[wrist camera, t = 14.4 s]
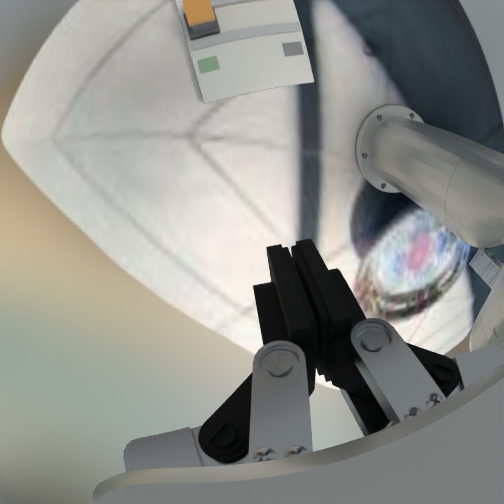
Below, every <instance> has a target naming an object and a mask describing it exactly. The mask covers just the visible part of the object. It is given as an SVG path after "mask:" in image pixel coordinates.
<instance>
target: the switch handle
mask: <svg viewBox="0 0 504 504" xmlns="http://www.w3.org/2000/svg"><path fill="white" fill-rule="evenodd" d="M182 3H183V7H184V10H185V14H183V15H184V19H185V23H186V26H187V30H188V33H189V37H190V39H191V41H192V40H196V39H200V38H203V37H207V36H211V35H215V34H219V33H220V28H219V24H218V21H217V17H216V14H215V10H214V7H212V5H211V1H210V0H183V1H182Z"/></svg>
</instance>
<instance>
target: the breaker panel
mask: <svg viewBox="0 0 504 504" xmlns="http://www.w3.org/2000/svg"><path fill="white" fill-rule="evenodd" d="M175 1H176V4H177V8H178V12H179V15H180V19H181V22H182V26H183V30H184V33H185V37H186V40H187V44H188V47H189V51H190V55H191V58H192V62H193V65H194V69H195V72H196V76H197V79H198V83H199V86H200V90H201V93H202V97H203V101H204V104H207V103H210V102H214V101H218V100H221V99H225V98H229V97H233V96H238V95H242V94H246V93H251V92H256V91H261V90H266V89H271V88H277V87H283V86H289V85H296V84H303V83H311V82H314V79H313V74H312V70H311V65H310V61H309V57H308V53H307V49H306V45H305V41H304V37H303V33H302V29H301V26H300V22H299V19H298V15H297V12H296V9H295V5H294V2H293V0H210V1H211V5H212V7H214V10H215V14H216V17H217V21H218V24H219V28H220V33H219V34H215V35H211V36H207V37H203V38H200V39H196V40H192V41H191V39H190V37H189V33H188V30H187V26H186V23H185V19H184V15H183V14H185V10H184V7H183V3H182V1H183V0H175Z"/></svg>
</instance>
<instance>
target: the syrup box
mask: <svg viewBox="0 0 504 504" xmlns="http://www.w3.org/2000/svg"><path fill="white" fill-rule="evenodd" d="M469 265H470V266H471V267H472V268H473V269H474V270H475V271H476V272H477V273H478V274H479V276H480V277H481V278H482V279H483V280H484V281H485V282H486V283H487V285H488V286H489V287H490V288H491V289H493V287H494V285H495V283H496V281H497V279H498V277H499V275H500V272H501V270H502V266H503V264H502V263H501V262H500V261H499V260H498V259H497V258H495V257H494V256H493V255H492V254H491V253H490V252H489V251H488V250H487V249H486V248H478V250H477V252H476V253H475V255H474V256H473V258H472V260H471V261H470V263H469Z"/></svg>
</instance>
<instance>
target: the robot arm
mask: <svg viewBox="0 0 504 504" xmlns="http://www.w3.org/2000/svg"><path fill="white" fill-rule="evenodd" d="M362 154H363V155H362ZM356 157H357V162H358V166H359V168H360V170H361V173H362V174H363V176H364V177H365V179H366V180H367V181H368V182H369V183H370V184H371V185H373V186H374V187H375V188H377V189H379V190H381V191H384V192H388V193H397V192H402V193H403V194H404V195H406V196H407V197H409V198H410V199H411V200H413V201H414V202H415V203H417V204H418V205H419V206H421V207H422V208H423V209H424V210H426V211H427V212H428V213H429V214H431V215H432V216H433V217H435V218H436V219H437V220H438V221H439V222H441V223H442V224H443V225H444V226H445V227H447V228H448V229H449V230H450V231H451V232H452V233H454V234H455V235H456V236H457V237H458V238H460V239H461V240H462V241H464V242H465V243H467V244H468V245H471V246H474V247H477V248H489V247H494V246H498V245H502V244H504V155H503V154H501V153H499V152H497V151H495V150H493V149H490V148H488V147H486V146H484V145H481V144H479V143H477V142H474V141H472V140H470V139H467V138H465V137H462V136H460V135H457V134H454V133H452V132H449V131H446V130H443V129H440V128H437V127H434V126H431V125H428V124H425V123H424V122H423V120H422V119H421V118H420V116H419V115H418V114H417V113H416V112H414V111H413V110H411V109H409V108H407V107H404V106H401V105H386V106H382V107H380V108H378V109H376V110H375V111H373V112H372V113H371V114H370V115H369V116H368V117H367V118H366V120H365V121H364V122H363V124H362V126H361V128H360V130H359V134H358V137H357V144H356ZM266 249H267V256H268V263H269V270H270V276H271V282H269V283H264V284H259V285H253V289H254V294H255V300H256V306H257V312H258V317H259V323H260V329H261V334H262V340H263V347H262V348H260V349H259V350H258V352H257V353H256V355H255V356H254V361H253V372H252V373H251V374H250V375H249V376H248V378H247V379H246V380H245V381H244V382H243V383H242V384H241V385H240V386H239V387H238V388H237V390H236V391H235V392H234V393H233V394H232V395H231V396H230V397H229V398H228V399H227V400H226V401H225V402H224V403H223V404H222V405H221V406H220V407H219V408H218V409H217V410H216V411H215V412H214V414H213V415H212V416H211V417H210V418H209V419H208V420H207V421H206V422H205V423H204V424H203V425H202V426H199V427H195V428H190V427H187V428H183V429H179V430H175V431H171V432H167V433H162V434H158V435H153V436H148V437H142V438H138V439H135V440H132V441H131V442H130V443H128V444H127V445H126V447H125V450H124V463H125V468H126V472H125V473H121V474H118V475H115V476H112V477H110V478H108V479H106V480H104V481H102V482H101V483H99V484H98V486H97V487H96V488H95V490H94V492H93V494H92V497H91V501H90V504H504V264H503V266H502V270H501V272H500V275H499V277H498V279H497V281H496V283H495V285H494V287H493V289H492V291H491V293H490V295H489V296H488V298H487V300H486V302H485V304H484V305H483V307H482V309H481V311H480V313H479V315H478V317H477V319H476V321H475V323H474V326H473V328H472V332H471V336H470V344H469V345H470V352H466V353H462V354H458V355H455V356H454V357H453V358H451V359H450V358H448V357H446V356H444V355H441V354H438V353H435V352H432V351H429V350H426V349H423V348H420V347H417V346H414V345H411V344H409V343H406V342H405V341H404V340H403V339H402V338H401V336H400V335H399V334H398V333H397V331H396V330H395V329H394V327H393V326H391V325H390V324H389V323H388V322H386V321H384V320H382V319H377V318H368V319H366V317H365V315H364V313H363V311H362V309H361V307H360V306H359V304H358V302H357V300H356V298H355V296H354V295H353V293H352V291H351V289H350V288H349V286H348V284H347V282H346V280H345V279H344V277H343V275H342V274H341V272H340V270H339V269H337V268H336V269H332V270H328V268H327V267H326V265H325V263H324V261H323V259H322V257H321V256H320V254H319V252H318V250H317V248H316V247H315V245H314V243H313V241H312V240H311V239H306V240H300V241H296V245H295V246H291V252H292V257H291V254H290V252H289V249H288V247H284V248H282V245H281V244H279V245H274V246H269V247H266ZM316 368H317V372H318V374H319V376H320V375H324V377H325V380H326V382H328V381H331V382H332V385H334V386H336V387H338V388H340V390H341V393H342V395H343V397H344V399H345V401H346V403H347V404H348V406H349V408H350V410H351V412H352V413H353V416H354V418H355V420H356V421H357V423H358V425H359V427H360V429H361V431H362V433H363V435H364V436H365V437H362V438H359V439H356V440H353V441H350V442H347V443H344V444H341V445H337V446H334V447H330V448H326V449H323V450H319V451H315V452H313V451H312V450H313V449H312V432H311V418H310V405H309V397H310V395H311V394H312V392H313V391H314V388H315V374H316Z"/></svg>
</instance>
